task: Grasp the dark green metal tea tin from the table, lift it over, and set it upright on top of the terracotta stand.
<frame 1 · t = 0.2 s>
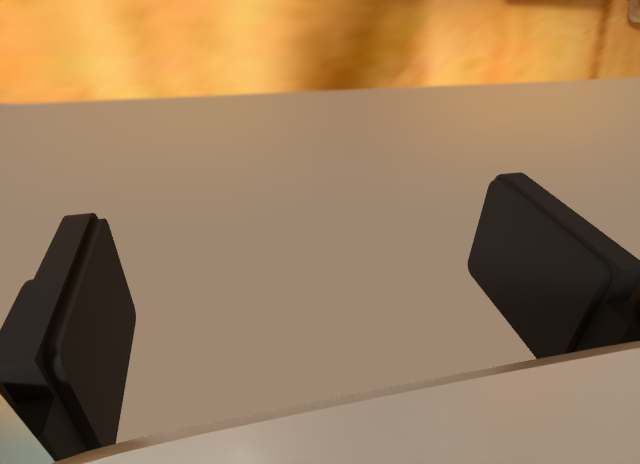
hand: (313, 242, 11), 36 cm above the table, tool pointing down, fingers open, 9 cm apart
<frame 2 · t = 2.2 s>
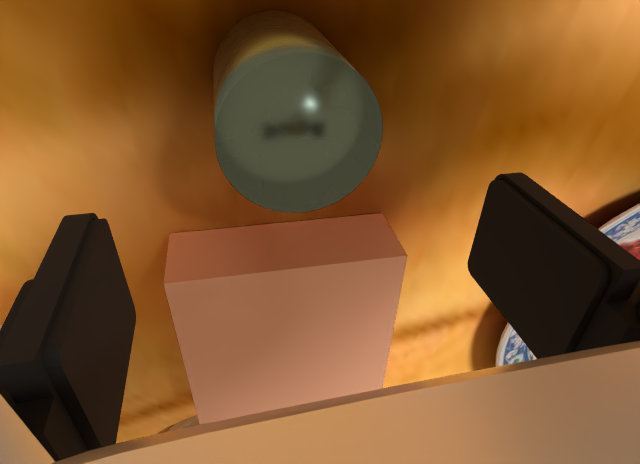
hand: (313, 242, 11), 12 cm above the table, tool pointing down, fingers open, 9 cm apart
ceramic plate: (626, 293, 36), on the table
tea tin: (275, 77, 19), on the table
terracotta stand: (283, 299, 28), on the table
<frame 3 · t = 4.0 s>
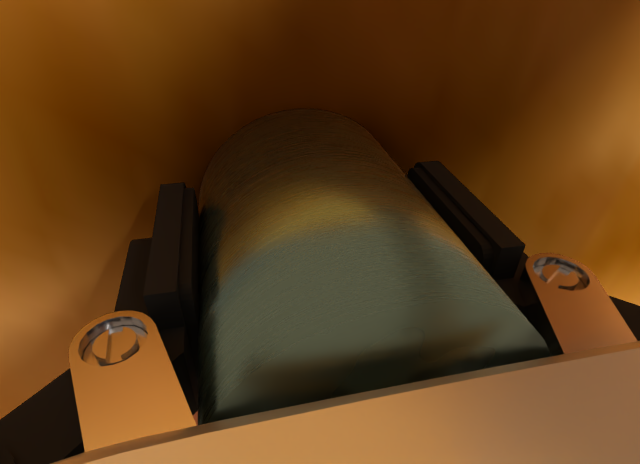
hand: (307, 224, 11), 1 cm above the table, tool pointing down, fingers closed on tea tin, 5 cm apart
tea tin: (299, 204, 12), on the table, touching gripper
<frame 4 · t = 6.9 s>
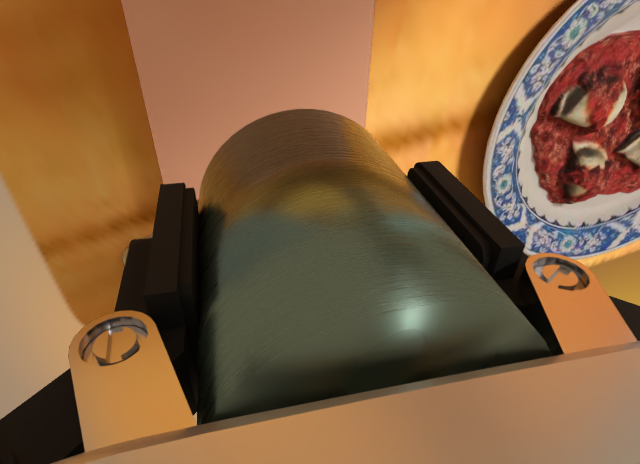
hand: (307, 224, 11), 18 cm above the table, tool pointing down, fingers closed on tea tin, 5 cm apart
ceramic plate: (617, 118, 35), on the table
tea tin: (299, 204, 12), point 17 cm above the table, touching gripper
terracotta stand: (254, 75, 26), on the table
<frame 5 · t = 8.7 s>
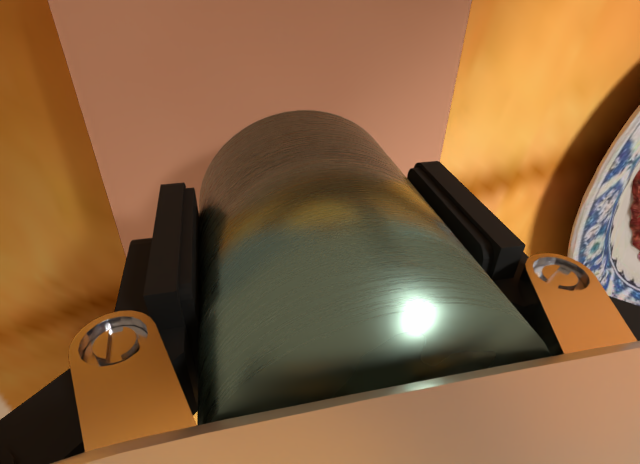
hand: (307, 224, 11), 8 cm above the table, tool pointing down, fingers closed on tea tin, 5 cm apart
tea tin: (300, 205, 12), point 7 cm above the table, touching gripper
terracotta stand: (269, 108, 18), on the table
when the fingers open (6 cm above the table, at t = 10.0 s): tea tin drops 1 cm, resting on terracotta stand.
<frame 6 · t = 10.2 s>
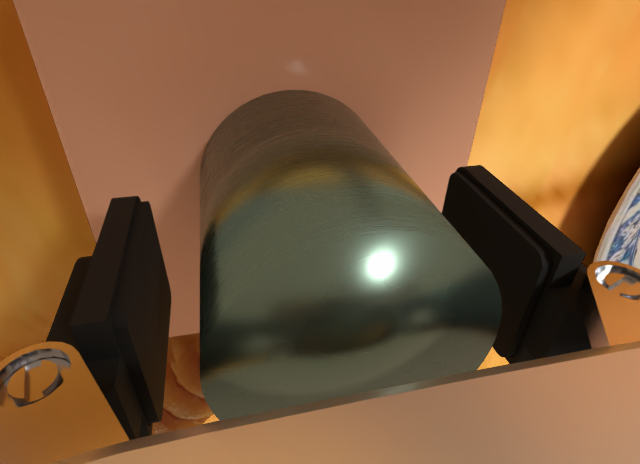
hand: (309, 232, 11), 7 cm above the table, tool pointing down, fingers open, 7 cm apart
tea tin: (292, 179, 13), point 4 cm above the table, touching terracotta stand
terracotta stand: (273, 132, 16), on the table
pastry: (158, 359, 23), on the table
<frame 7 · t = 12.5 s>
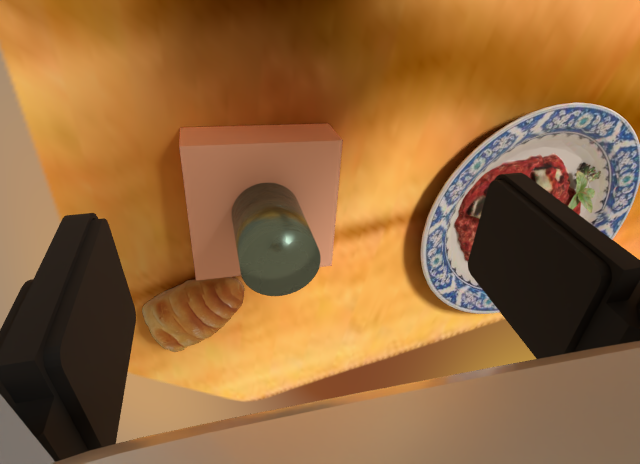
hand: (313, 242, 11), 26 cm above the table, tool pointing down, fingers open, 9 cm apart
ceramic plate: (519, 212, 48), on the table
tea tin: (266, 213, 35), point 4 cm above the table, touching terracotta stand
terracotta stand: (258, 191, 38), on the table
pastry: (191, 300, 43), on the table
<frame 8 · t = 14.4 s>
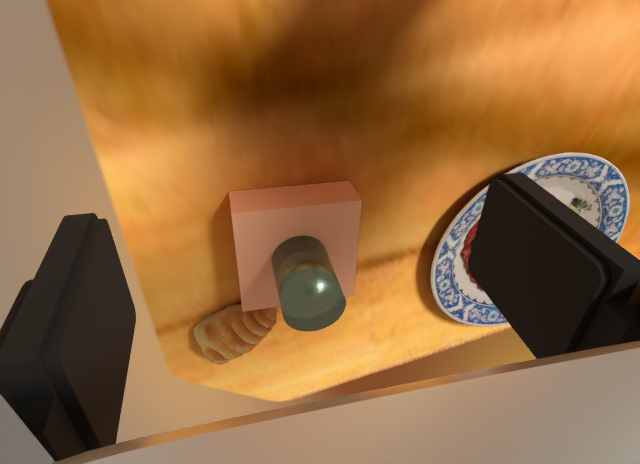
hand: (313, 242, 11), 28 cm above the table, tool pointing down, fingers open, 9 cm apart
ceramic plate: (518, 240, 54), on the table
tea tin: (299, 258, 42), point 4 cm above the table, touching terracotta stand
terracotta stand: (292, 235, 45), on the table
pastry: (232, 320, 51), on the table
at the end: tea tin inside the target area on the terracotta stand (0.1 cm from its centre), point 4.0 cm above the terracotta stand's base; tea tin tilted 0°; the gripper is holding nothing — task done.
